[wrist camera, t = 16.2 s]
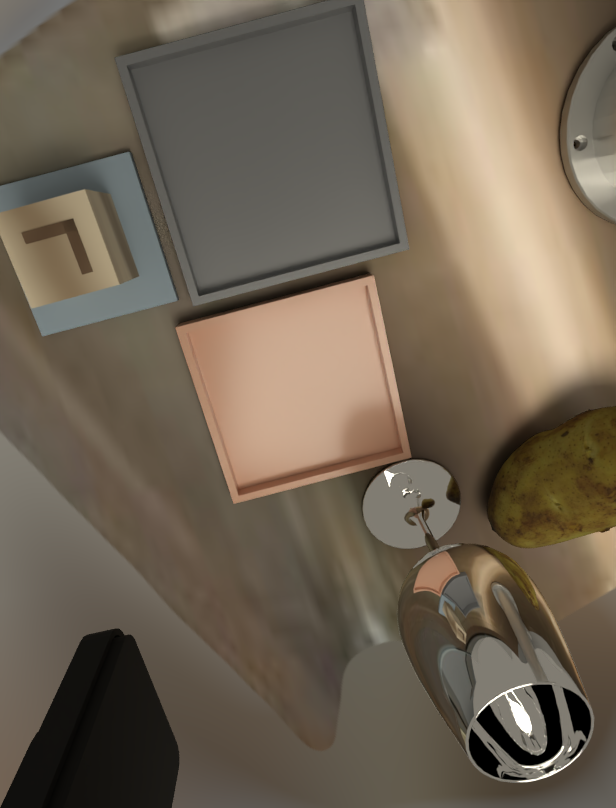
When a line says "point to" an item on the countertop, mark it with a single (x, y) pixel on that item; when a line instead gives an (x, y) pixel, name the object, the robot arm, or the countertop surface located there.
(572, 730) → the wineglass
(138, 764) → the robot arm
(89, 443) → the countertop surface
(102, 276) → the letter cube
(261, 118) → the charcoal tray
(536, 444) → the potato
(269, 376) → the terracotta tray
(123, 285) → the mat
